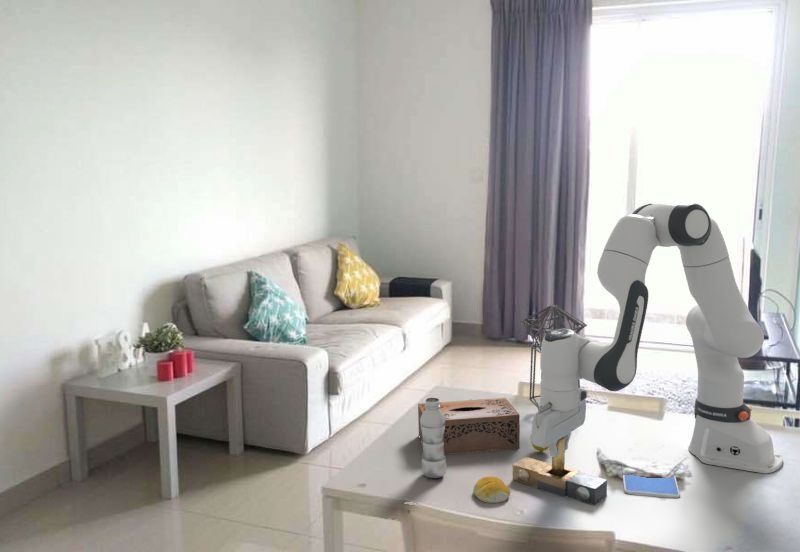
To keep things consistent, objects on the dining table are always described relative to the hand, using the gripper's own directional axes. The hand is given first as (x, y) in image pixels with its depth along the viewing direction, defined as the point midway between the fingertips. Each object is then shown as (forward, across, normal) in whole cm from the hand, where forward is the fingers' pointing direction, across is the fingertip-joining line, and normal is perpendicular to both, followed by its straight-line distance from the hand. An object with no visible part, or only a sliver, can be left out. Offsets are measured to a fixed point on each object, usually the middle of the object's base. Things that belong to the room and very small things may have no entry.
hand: (558, 453), depth 175 cm
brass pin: (+7, 0, 0) cm, 7 cm away
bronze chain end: (+9, 0, +4) cm, 9 cm away
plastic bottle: (+9, -13, +28) cm, 32 cm away
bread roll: (+9, -13, +10) cm, 19 cm away
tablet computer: (+10, +18, -15) cm, 25 cm away
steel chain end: (+9, 0, -4) cm, 10 cm away
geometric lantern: (+9, +42, +25) cm, 50 cm away
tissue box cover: (+9, +10, +34) cm, 37 cm away
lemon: (+9, +16, +14) cm, 23 cm away
